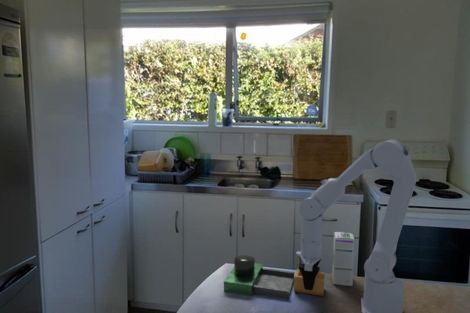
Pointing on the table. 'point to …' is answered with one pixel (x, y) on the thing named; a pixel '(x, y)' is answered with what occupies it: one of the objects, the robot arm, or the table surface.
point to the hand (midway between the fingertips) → (309, 284)
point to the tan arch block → (317, 287)
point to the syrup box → (343, 258)
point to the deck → (257, 279)
